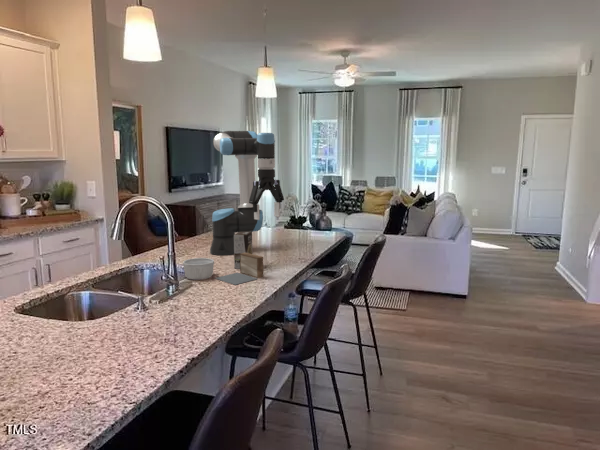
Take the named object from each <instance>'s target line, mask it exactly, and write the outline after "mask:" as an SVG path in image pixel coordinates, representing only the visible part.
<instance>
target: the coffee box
mask: <svg viewBox="0 0 600 450" xmlns="http://www.w3.org/2000/svg"><path fill="white" fill-rule="evenodd" d="M241 253H249V254H253V232H236V233H235V234H234V254H233V258H234V259H233V260H234V261H233V263H234V269H237V270H240V254H241Z"/></svg>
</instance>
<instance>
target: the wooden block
mask: <svg viewBox="0 0 600 450" xmlns="http://www.w3.org/2000/svg"><path fill="white" fill-rule="evenodd" d="M239 270H240V272H239V273H241V274H244V275H248V276H251V277H254V278H258V279H261V278H264V257H263V256H261V255H257V254H253V253H252V254H249V253H241V254H240V269H239Z"/></svg>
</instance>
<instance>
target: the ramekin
mask: <svg viewBox="0 0 600 450" xmlns="http://www.w3.org/2000/svg"><path fill="white" fill-rule="evenodd" d="M214 265H215V260H214V258H207V257H194V258H188V259H185V260H183V261H182V266H183V269H184V275H185V277H186V278H187V279H189V280H195V281H196V280H197V281H199V280H200V281H201V280H206V279H209V278H211V277H212V276H213V275H214V274H213V273H214Z"/></svg>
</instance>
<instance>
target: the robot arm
mask: <svg viewBox="0 0 600 450" xmlns="http://www.w3.org/2000/svg"><path fill="white" fill-rule="evenodd" d="M275 139H276V138H275V133H273V132H259V133H257V132H255V131H252V130H226V131H221V132H218V133H216V134H215V135H214V137H213V140H212V145H213V147H214V149H215V150H216V151H218V152H219V153H220V154H221V155H222V156H234V157H235V158H236V159H237V164H238V183H239V205H238V206H237V210H235V209H234V207H232V208H230V207H229V208H228V207H227V208H221V209H217V210H214V211H213V212H212V215H211V216H212V219H211V221H212V241H211V245H210V248H209V254H211V255H213V256H230V255H234V234H236V233H238V232H252V233H253V232H259V231H260V230H261V229H262V226H263V223H264V222H263V221H264V214H263V210H262V209H260V204H259V202H260V200H261V198H262V196H263V194H264V192H266V191H270V193H271V195H272V197H273V199H274V202H273V203H274V205H273V207H274V210H273V212H274V217H277V218H280V216H281V212H280V211H281V203H282V202H283V201H284V200H285V198H284V195H283V194H284V193H283V191H282V187H281V182H280V181H281V180H280V179H275V177H276V169H275V168H276V157H275V154H276V151H275V149H276V148H275V146H276V145H275V143H276V140H275ZM256 157H257V168H258V169H257V178H258V180H256V171H255V167H256V166H255V159H256Z"/></svg>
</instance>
